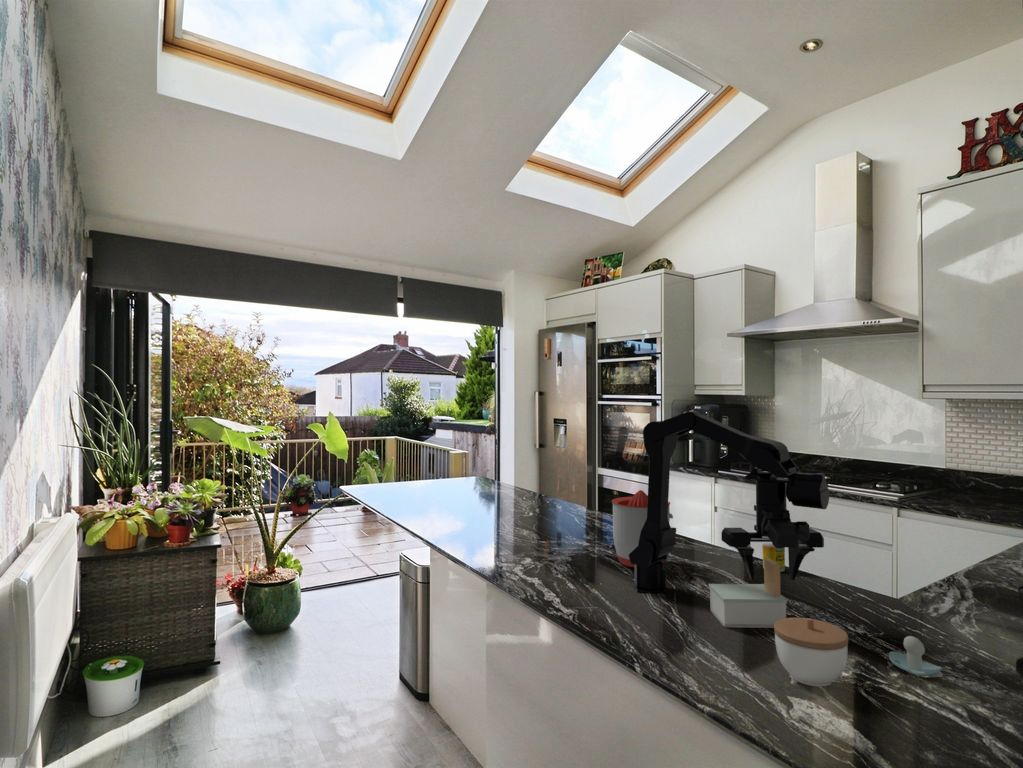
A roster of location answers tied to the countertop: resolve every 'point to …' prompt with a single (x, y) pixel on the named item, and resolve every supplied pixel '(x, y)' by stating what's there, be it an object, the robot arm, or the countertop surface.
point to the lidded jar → (811, 650)
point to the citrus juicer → (629, 524)
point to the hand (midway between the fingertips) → (771, 579)
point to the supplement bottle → (774, 554)
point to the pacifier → (914, 659)
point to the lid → (754, 588)
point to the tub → (746, 613)
